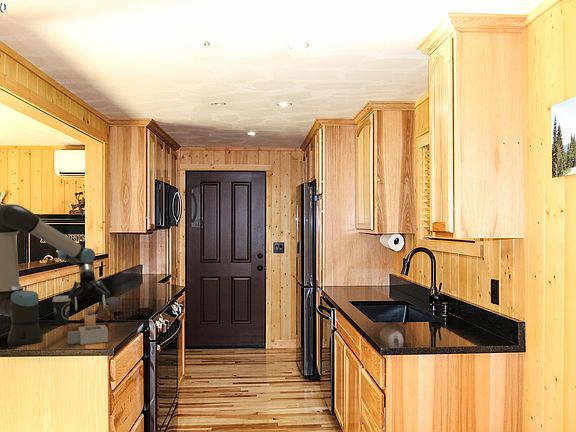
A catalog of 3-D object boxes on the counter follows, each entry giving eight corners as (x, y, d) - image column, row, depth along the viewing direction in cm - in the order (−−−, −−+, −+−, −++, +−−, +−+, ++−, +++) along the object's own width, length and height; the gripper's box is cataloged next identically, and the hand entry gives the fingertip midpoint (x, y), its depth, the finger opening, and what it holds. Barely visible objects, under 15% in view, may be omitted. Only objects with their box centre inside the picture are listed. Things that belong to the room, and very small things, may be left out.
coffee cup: (66, 321, 312) (66, 295, 312) (74, 324, 305) (73, 296, 305) (49, 324, 305) (49, 296, 305) (56, 326, 298) (56, 298, 298)
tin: (96, 318, 320) (96, 304, 320) (101, 317, 322) (101, 303, 322) (109, 321, 310) (109, 306, 310) (114, 321, 312) (114, 306, 312)
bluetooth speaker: (113, 318, 320) (112, 301, 320) (96, 318, 320) (96, 301, 320) (121, 311, 343) (121, 295, 343) (106, 312, 342) (106, 296, 342)
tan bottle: (89, 336, 271) (89, 311, 271) (82, 335, 274) (82, 310, 274) (97, 334, 275) (97, 309, 275) (90, 333, 278) (90, 309, 278)
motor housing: (107, 342, 259) (107, 329, 259) (68, 345, 252) (68, 332, 252) (104, 337, 270) (104, 324, 270) (67, 340, 263) (67, 328, 263)
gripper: (110, 278, 304) (115, 309, 290) (61, 280, 293) (63, 313, 279) (112, 269, 299) (116, 301, 285) (62, 271, 288) (64, 304, 275)
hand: (90, 307), depth 282 cm, fingers open, 13 cm apart
